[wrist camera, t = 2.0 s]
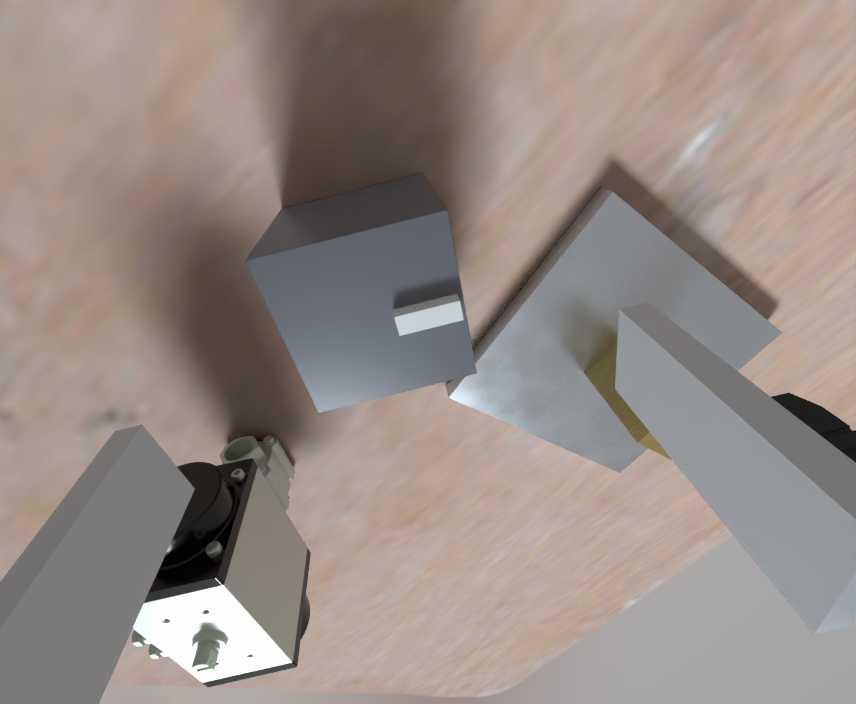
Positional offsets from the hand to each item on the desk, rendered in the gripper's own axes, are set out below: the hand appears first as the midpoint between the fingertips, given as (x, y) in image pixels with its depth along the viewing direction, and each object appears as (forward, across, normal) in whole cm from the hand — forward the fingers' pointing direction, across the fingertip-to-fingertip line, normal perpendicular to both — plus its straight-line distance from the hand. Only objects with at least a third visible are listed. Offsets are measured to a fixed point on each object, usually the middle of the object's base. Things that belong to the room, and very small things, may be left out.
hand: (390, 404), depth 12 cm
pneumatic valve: (+12, -12, -11) cm, 20 cm away
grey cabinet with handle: (+12, 0, 0) cm, 12 cm away
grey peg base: (+12, +12, -10) cm, 20 cm away
